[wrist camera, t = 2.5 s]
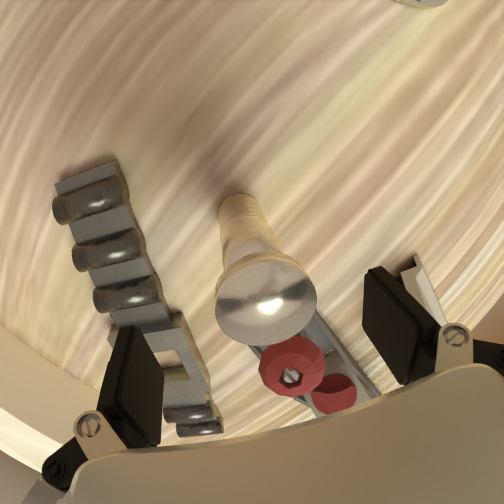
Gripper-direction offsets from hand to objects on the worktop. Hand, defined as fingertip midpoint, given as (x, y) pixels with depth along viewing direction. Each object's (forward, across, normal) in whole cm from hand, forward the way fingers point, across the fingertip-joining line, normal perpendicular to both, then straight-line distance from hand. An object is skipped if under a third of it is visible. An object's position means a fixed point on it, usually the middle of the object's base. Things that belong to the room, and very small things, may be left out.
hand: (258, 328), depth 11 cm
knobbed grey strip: (+12, +9, +9) cm, 17 cm away
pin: (+11, -1, -1) cm, 11 cm away
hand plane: (+12, -8, +22) cm, 26 cm away
